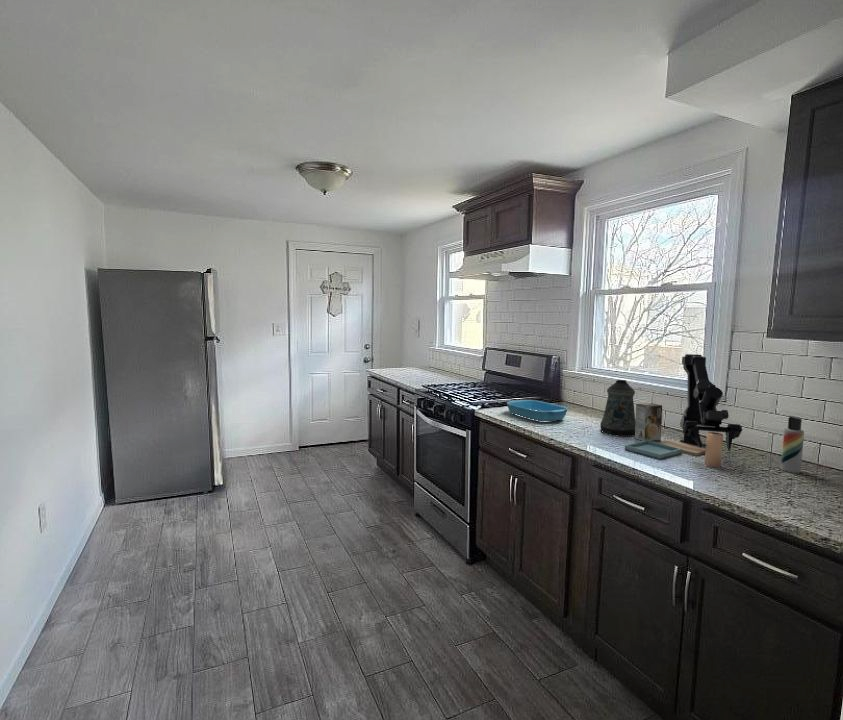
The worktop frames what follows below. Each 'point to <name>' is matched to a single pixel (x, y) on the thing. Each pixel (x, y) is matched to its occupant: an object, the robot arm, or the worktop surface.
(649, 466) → the worktop surface
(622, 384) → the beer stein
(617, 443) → the worktop surface
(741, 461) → the worktop surface
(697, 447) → the tan board
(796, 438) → the lotion bottle
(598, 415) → the worktop surface
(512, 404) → the casserole dish
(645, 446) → the tray
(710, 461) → the tan glossy round part
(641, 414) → the coffee box
